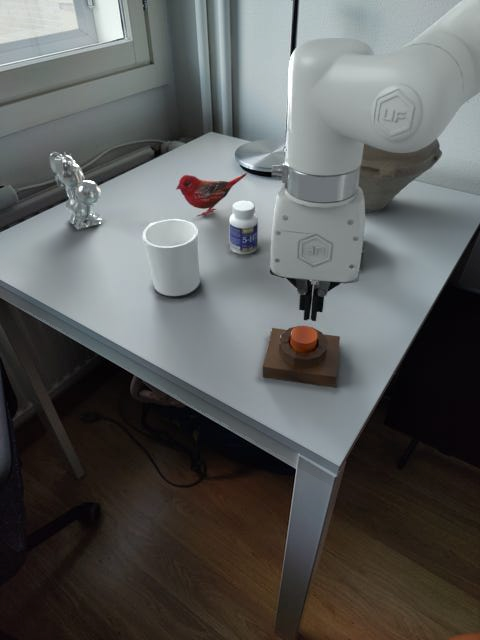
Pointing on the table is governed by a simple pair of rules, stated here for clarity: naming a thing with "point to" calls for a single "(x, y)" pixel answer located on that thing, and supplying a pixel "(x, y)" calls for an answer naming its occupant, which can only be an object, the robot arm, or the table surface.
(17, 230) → the table surface
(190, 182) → the decorative bird figurine
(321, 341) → the button block
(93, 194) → the chrome statue
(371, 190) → the planter
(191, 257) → the mug
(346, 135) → the robot arm
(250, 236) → the pill bottle
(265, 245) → the table surface
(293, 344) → the button
